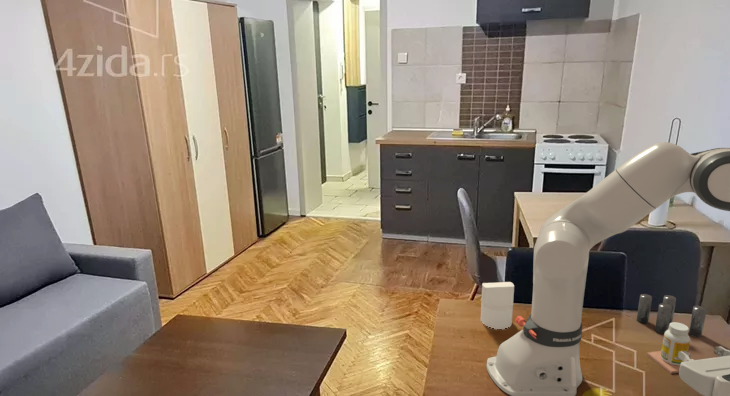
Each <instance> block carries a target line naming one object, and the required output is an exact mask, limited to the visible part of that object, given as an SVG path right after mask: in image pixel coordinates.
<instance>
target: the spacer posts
mask: <svg viewBox="0 0 730 396" xmlns="http://www.w3.org/2000/svg"><path fill="white" fill-rule="evenodd" d="M662 299H663V300H662V303H659V304H658V309H657V313H656V315H657V316H656V319H655V321H656V322H655V327H654V332H656V333H657V334H660V335H664V333H665V331H666V330H669V324H670V323H672V322H674V314H675V310H676V309H675V308H676V302H677V298H676V297H675V296H673V295H668V294H664V296H663V298H662ZM652 301H653V296H652V295H650V294H647V293H642V294H640V295H639V301H638V307H637V308H638V309H637V314H636V321H637V323H640V324H645V325H646V324H649V323H650V322H649V321H650V314H651V308H652V307H651V306H652ZM706 316H707V308H706V307H704V306H700V305H693V306H692V312H691V317H690V318H691V319H690V322H689V323H690V324H689V327H688V328H689V331H688V335H690V336H692V337H695V338H701V337H703V331H704V325H705V322H706Z"/></svg>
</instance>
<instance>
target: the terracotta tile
mask: <svg viewBox="0 0 730 396" xmlns="http://www.w3.org/2000/svg"><path fill="white" fill-rule="evenodd" d="M646 356H647V357H649V358H650V359H652V361H654V362H655V363H657V364H658V365H659V366H661V367H662V368H663V369H664V370H665V371H667V372H668V373H669V374H679V369H680V366H677V365H672V364H669V363H667V362H665V361H664V360H663V359H662V358H661V350H657V351H656V350H655V351H649V352H646Z"/></svg>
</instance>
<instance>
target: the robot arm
mask: <svg viewBox="0 0 730 396" xmlns="http://www.w3.org/2000/svg"><path fill="white" fill-rule="evenodd" d="M684 193H694V194H695V195H696V196H697V197H698V198H699V199H700V201H702V202H703V203H705V204H706V205H708V206H710V207H712V208H714V209H717V210H722V211H726V212H730V147H717V148H711V149H706V150H703V151H698V152H691V153H689V152H688V151H687V150H686V149H684V148H682V147H681V146H679V145H677V144H675V143H673V142H669V141H660V142H657V143H654V144H652V145H650V146H648V147H646V148H645V149H642V150H641V151H640V152H638V153H637V154H635V155H633V156H632V157H630V158H629V159H627V160H626V161H625V162H623V163H622V164H620V165H619V166H618V167H617V168H616V169H614V170H613V171H611V172H610V173H609V174H608V175H607V176H605V178H603V179H602V180H601V181H600V182H598V183H597V184H595V185H594V186H593V187H592V188H590V189H589V190H588V191H586V192H585V193H584V194H582V195H581V196H580V197H578V198H576V199H575V200H573V201H572V202H570V203H568V204H567V205H566V206H563V208H561V209H560V210H558V211H557V212H556V213H554V214H553V215H551V216H550V217H548V218H547V219H546V220H545V221H544V222H543V224H542V225H541V228H540V231H539V232H538V235H537V237H536V240H535V244H534V247H533V259H532V260H533V262H532V263H533V264H532V265H533V266H532V267H533V268H532V273H533V274H532V284H533V285H532V299H531V300H532V301H531V313H530V314H529V315H528V317H527V319H525V318H524V317H523V316H522V315H518V316H517V317H515V319H514V320H515V322H516V324H517V325H518V326H519V327H523V328H522V329H521V330H519V331H518V332H517V333H515V334H514V335H512V336H511V337H509V338H508V339H507V340H505V341H503V342H501V344H499V347H498V349H497V352H496V355H495V356H491V357H488V358H487V360H486V371H487V373H488V375H489V376H490V378H491V380H492V381H493V382H494V384H495V385H496V386H497V387H498V388H499V389H501V390H502V391H503V392H504V393H506V394H507V395H509V396H577V388H578V387H579V386H580V385H581V384H582V382H583V374H582V370H581V369H582V368H581V362H580V342H581V341H582V339H583V338H582V337H583V336H582V335H583V322H582V316H583V308H584V307H583V306H584V297H585V289H586V284H587V283H586V282H587V273H588V266H589V259H590V251H591V249H592V248H593V247H594V246H596V245H597V244H599V243H600V242H602V241H605V240H607V239H608V238H610V237H613V236H615V235H618V234H623V233H624V232H626V231H627V230H629V229H630V228H631V227H633V226H634V225H636V224H637V223H639V222H640V221H641V220H643V219H644V218H645V217H647V216H648V215H650V214H651V213H652V212H654V211H655V210H656V209H657V208H659V207H661V206H662V205H663V204H665V203H666V202H667V201H668V200H670V199H672V198H674V197H676V196H678V195H680V194H684ZM713 353H714V354H715V355H717V356H716V357H709V358H702V359H701V358H700V359H694V358H691V354H690V353H689V351H688V352H686V351H679V353H678V357H679V359H681V360H682V361H684V362H681V364H680V369H679V373H678V374H679V375H678V376H679V378H680V379H681V381H682V382H684V383H686V385H687V386H689V387H690V388H692V389H693V390H694V391H695V392H697V393H699V394H700V395H702V396H730V350H729V349H726V348H724V347H723V346H721V345H719V346H714V347H713Z"/></svg>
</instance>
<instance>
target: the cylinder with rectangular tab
mask: <svg viewBox="0 0 730 396" xmlns="http://www.w3.org/2000/svg"><path fill="white" fill-rule="evenodd" d="M514 293H515V285H514V283H513V282H511V281H502V282H501V281H500V282H482V284H481V305H480V306H481V307H480V322H481V321H482V323H483V324H485V325H486V326H488V327H487V328H489V327H491V328H490V329H492V328H494V329H493V330H497V329H502V330H506V329H505V328H507V329H509V328H510V327H511V326H512V325H513V324H512V323H513V311H514V310H513V308H514V295H515V294H514ZM482 323H481V324H482ZM483 324H482V325H483ZM485 325H484V326H485ZM486 326H485V327H486ZM508 327H509V328H508Z"/></svg>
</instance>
